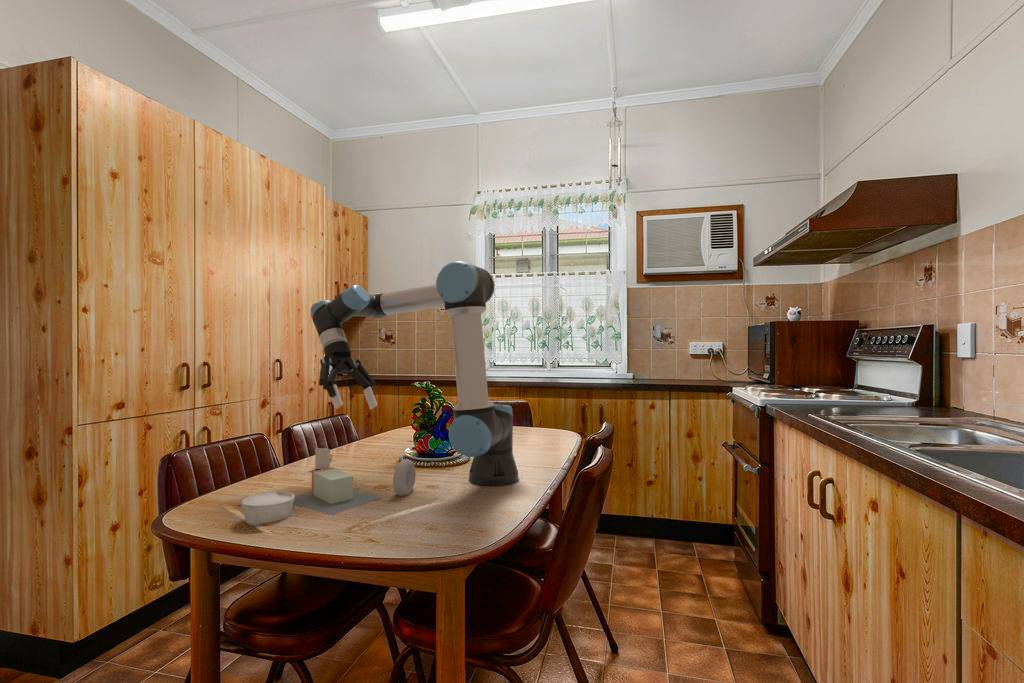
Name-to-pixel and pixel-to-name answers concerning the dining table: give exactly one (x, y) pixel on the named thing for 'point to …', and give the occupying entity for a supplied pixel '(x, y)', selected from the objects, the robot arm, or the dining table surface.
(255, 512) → the ramekin
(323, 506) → the slate mat
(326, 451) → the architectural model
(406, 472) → the grey wheel
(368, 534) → the dining table surface
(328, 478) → the sage block
